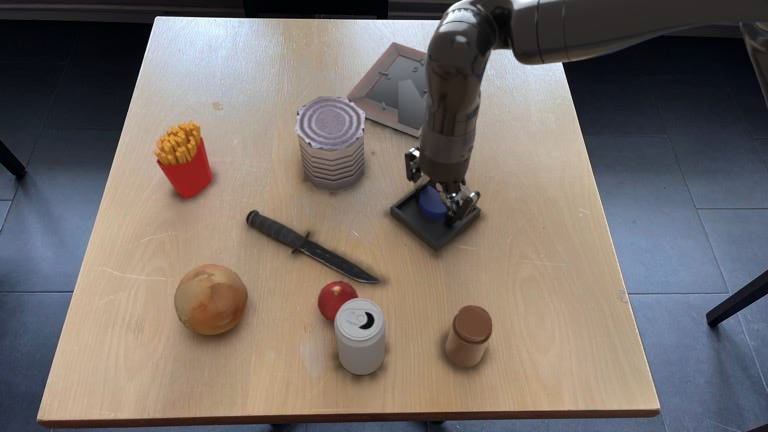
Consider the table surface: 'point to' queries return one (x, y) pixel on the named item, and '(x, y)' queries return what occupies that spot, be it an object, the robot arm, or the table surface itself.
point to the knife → (307, 246)
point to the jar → (468, 336)
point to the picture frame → (395, 89)
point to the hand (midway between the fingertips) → (435, 212)
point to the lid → (432, 204)
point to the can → (331, 142)
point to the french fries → (184, 159)
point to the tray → (428, 222)
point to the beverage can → (360, 335)
